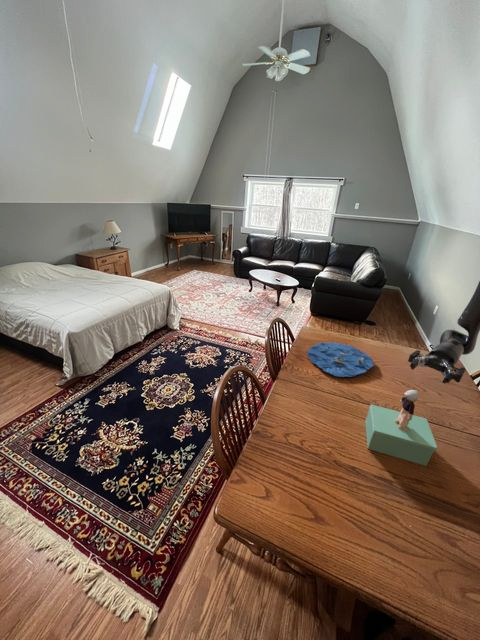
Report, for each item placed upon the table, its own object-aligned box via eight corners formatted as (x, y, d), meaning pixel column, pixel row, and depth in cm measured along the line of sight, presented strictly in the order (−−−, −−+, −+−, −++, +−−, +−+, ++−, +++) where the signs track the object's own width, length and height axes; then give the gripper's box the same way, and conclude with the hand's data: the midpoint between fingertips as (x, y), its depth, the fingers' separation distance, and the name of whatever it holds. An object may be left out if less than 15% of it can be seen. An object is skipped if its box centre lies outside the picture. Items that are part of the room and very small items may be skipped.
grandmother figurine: (414, 434, 77) (430, 400, 72) (401, 434, 77) (415, 400, 72) (400, 414, 84) (413, 382, 79) (388, 414, 84) (400, 381, 79)
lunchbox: (416, 435, 87) (424, 419, 84) (426, 466, 77) (434, 449, 74) (365, 421, 91) (370, 406, 88) (367, 448, 81) (373, 432, 78)
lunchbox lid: (425, 420, 83) (426, 418, 83) (436, 450, 74) (437, 448, 73) (370, 406, 88) (370, 404, 88) (373, 432, 78) (374, 430, 78)
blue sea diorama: (300, 371, 118) (302, 361, 115) (311, 340, 143) (313, 331, 140) (374, 388, 107) (377, 377, 105) (372, 351, 132) (374, 342, 130)
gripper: (424, 338, 94) (406, 352, 84) (475, 355, 84) (461, 374, 74) (417, 356, 97) (399, 372, 87) (465, 375, 87) (451, 396, 77)
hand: (428, 373), depth 81 cm, fingers open, 8 cm apart
